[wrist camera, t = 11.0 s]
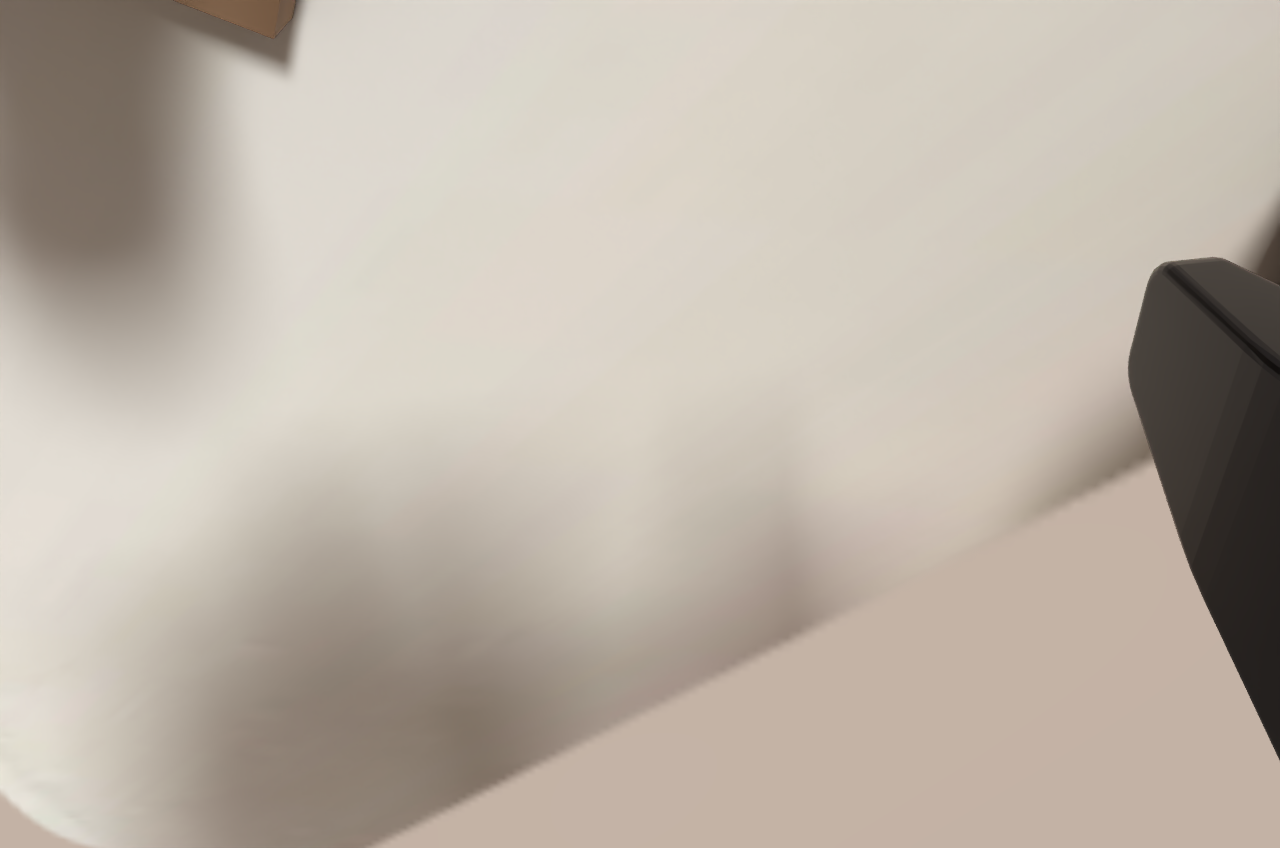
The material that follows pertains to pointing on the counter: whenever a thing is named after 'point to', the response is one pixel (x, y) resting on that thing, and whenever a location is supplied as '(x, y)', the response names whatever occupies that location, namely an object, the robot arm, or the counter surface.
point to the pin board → (249, 13)
